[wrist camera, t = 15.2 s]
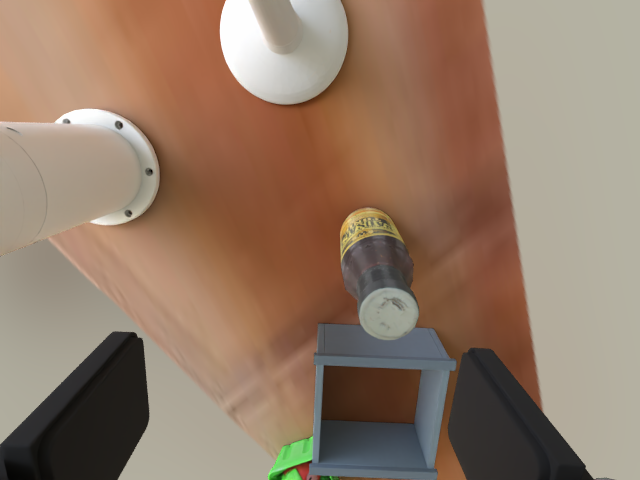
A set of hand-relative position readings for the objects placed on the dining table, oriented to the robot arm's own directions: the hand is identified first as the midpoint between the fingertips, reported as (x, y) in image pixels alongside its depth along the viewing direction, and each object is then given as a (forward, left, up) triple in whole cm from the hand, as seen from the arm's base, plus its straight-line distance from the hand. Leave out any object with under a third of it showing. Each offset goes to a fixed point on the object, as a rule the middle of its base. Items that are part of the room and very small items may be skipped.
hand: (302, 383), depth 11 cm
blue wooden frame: (+8, -24, -33) cm, 41 cm away
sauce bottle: (+6, -4, -33) cm, 34 cm away
